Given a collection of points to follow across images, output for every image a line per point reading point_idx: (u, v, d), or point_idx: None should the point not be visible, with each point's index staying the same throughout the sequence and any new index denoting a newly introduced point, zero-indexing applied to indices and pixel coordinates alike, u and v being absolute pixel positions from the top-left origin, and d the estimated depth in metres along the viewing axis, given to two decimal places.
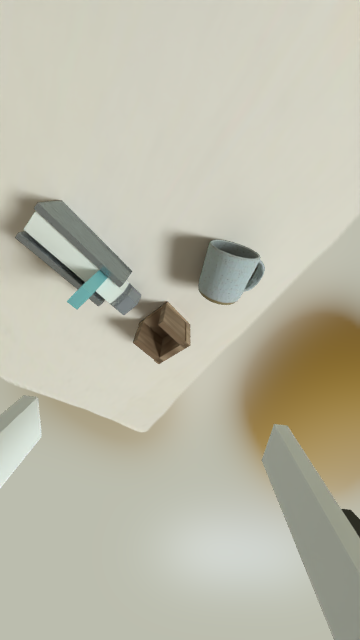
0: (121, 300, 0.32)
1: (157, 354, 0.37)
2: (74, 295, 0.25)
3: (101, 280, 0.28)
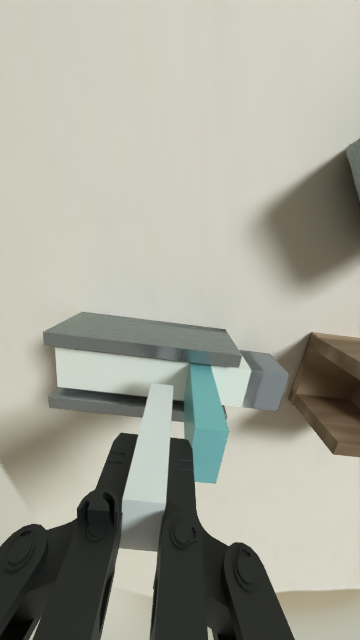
0: (256, 387, 0.15)
1: None
2: (193, 458, 0.10)
3: (209, 380, 0.13)
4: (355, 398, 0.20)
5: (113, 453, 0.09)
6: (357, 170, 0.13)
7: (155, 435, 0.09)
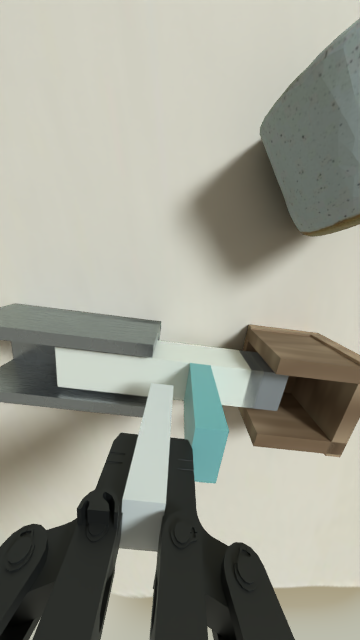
0: (256, 387, 0.15)
1: (320, 436, 0.15)
2: (193, 457, 0.10)
3: (209, 380, 0.13)
4: (295, 391, 0.20)
5: (113, 453, 0.09)
6: (268, 154, 0.13)
7: (155, 435, 0.09)
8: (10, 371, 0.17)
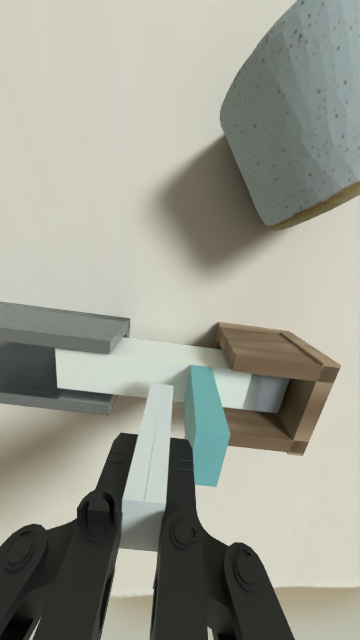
0: (257, 390, 0.15)
1: (282, 435, 0.15)
2: (193, 461, 0.10)
3: (210, 382, 0.13)
4: None
5: (113, 453, 0.09)
6: (230, 145, 0.13)
7: (155, 435, 0.09)
8: None
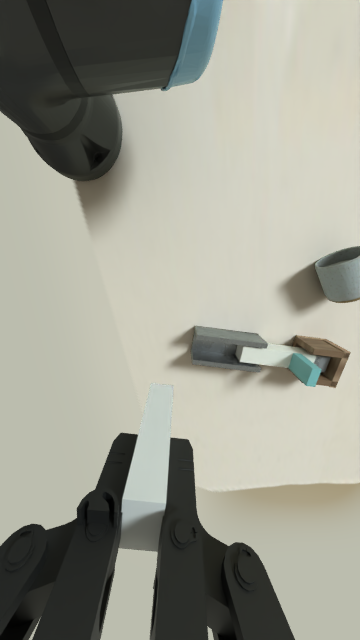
0: (317, 362, 0.40)
1: (327, 379, 0.39)
2: (310, 378, 0.34)
3: (305, 358, 0.37)
4: None
5: (113, 453, 0.09)
6: (318, 274, 0.37)
7: (155, 435, 0.09)
8: (198, 354, 0.41)
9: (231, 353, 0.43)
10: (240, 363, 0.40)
